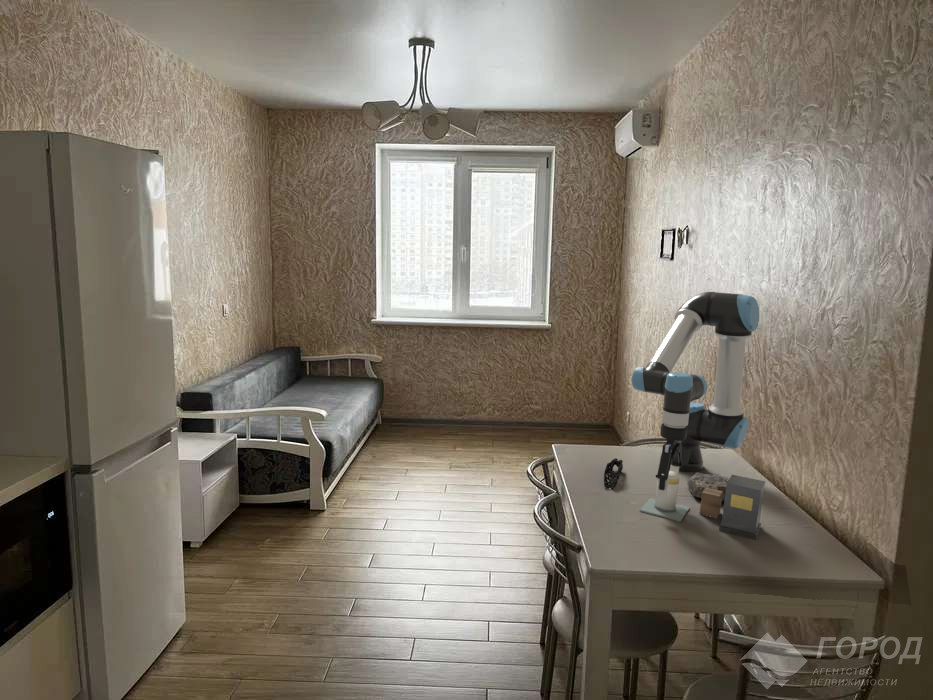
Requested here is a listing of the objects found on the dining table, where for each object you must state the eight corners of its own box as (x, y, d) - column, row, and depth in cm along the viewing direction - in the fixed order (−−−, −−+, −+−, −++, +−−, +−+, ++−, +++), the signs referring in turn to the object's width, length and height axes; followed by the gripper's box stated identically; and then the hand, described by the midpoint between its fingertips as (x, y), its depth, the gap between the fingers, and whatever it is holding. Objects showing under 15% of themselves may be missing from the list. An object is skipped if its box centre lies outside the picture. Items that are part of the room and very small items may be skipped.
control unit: (725, 517, 201) (730, 473, 198) (761, 526, 196) (767, 480, 193) (718, 529, 192) (724, 483, 189) (756, 539, 187) (762, 491, 184)
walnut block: (702, 509, 207) (705, 487, 205) (719, 513, 204) (722, 491, 203) (699, 514, 202) (702, 492, 201) (716, 518, 200) (719, 496, 199)
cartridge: (657, 502, 208) (661, 468, 206) (677, 507, 205) (681, 473, 203) (652, 508, 203) (655, 474, 201) (672, 514, 200) (676, 478, 198)
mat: (650, 499, 212) (650, 497, 212) (689, 508, 206) (689, 507, 206) (639, 511, 202) (639, 509, 202) (680, 521, 196) (680, 520, 196)
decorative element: (616, 491, 218) (618, 474, 217) (601, 488, 219) (603, 471, 218) (623, 470, 239) (625, 454, 238) (608, 468, 240) (610, 452, 239)
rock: (684, 486, 226) (693, 504, 211) (686, 468, 225) (695, 485, 210) (723, 489, 224) (735, 508, 210) (725, 471, 223) (737, 488, 209)
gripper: (671, 414, 212) (664, 478, 216) (650, 431, 191) (643, 502, 194) (696, 418, 208) (688, 483, 212) (677, 436, 187) (669, 508, 191)
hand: (666, 492), depth 203 cm, fingers open, 13 cm apart
